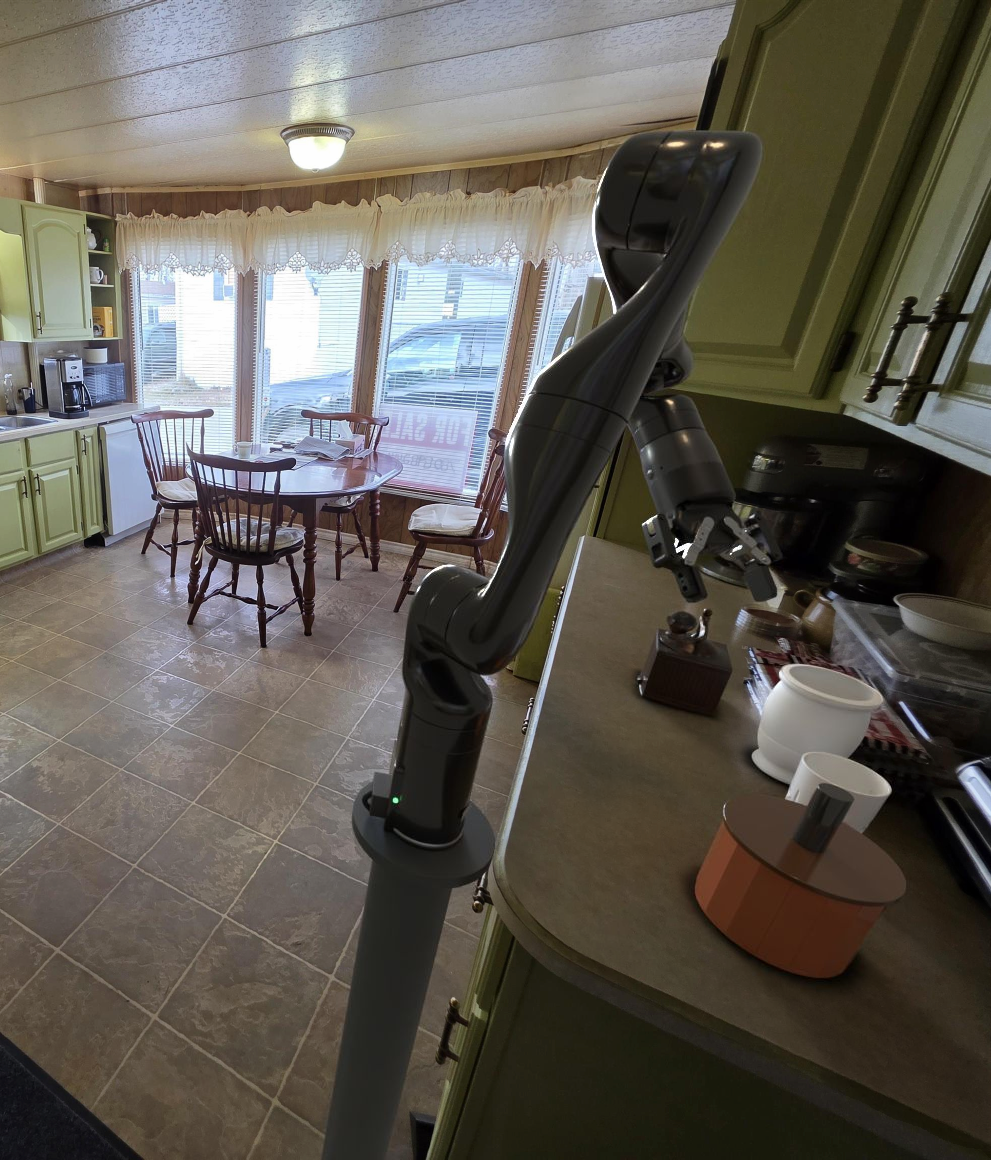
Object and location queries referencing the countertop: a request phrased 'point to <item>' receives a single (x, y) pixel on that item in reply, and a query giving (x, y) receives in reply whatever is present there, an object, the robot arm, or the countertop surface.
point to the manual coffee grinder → (686, 666)
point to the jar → (812, 718)
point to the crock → (779, 913)
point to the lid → (815, 846)
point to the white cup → (841, 785)
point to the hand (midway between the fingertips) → (732, 600)
